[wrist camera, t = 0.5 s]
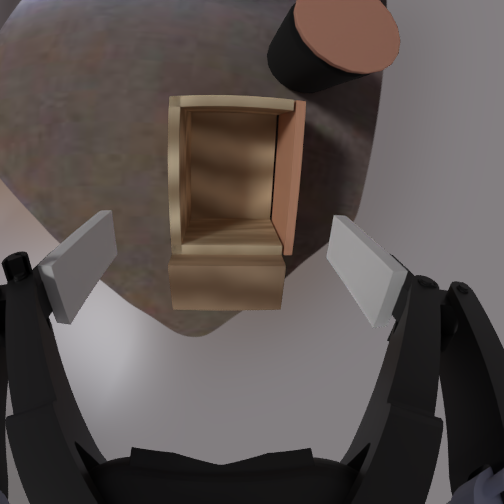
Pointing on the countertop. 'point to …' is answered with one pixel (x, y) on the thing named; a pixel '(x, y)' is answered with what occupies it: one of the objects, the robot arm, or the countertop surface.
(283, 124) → the panel
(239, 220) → the box
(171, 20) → the countertop surface
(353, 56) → the coffee jar
